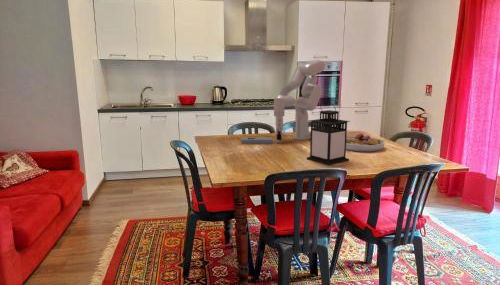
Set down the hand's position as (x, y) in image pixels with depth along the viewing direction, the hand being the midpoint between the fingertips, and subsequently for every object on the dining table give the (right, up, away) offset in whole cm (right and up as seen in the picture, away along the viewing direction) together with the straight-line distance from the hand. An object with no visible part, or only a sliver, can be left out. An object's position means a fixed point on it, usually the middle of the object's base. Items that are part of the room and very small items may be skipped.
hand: (278, 138), depth 265 cm
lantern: (+25, -13, -50) cm, 57 cm away
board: (-16, -3, +1) cm, 16 cm away
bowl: (+54, -7, -18) cm, 57 cm away
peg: (0, -3, +1) cm, 3 cm away
